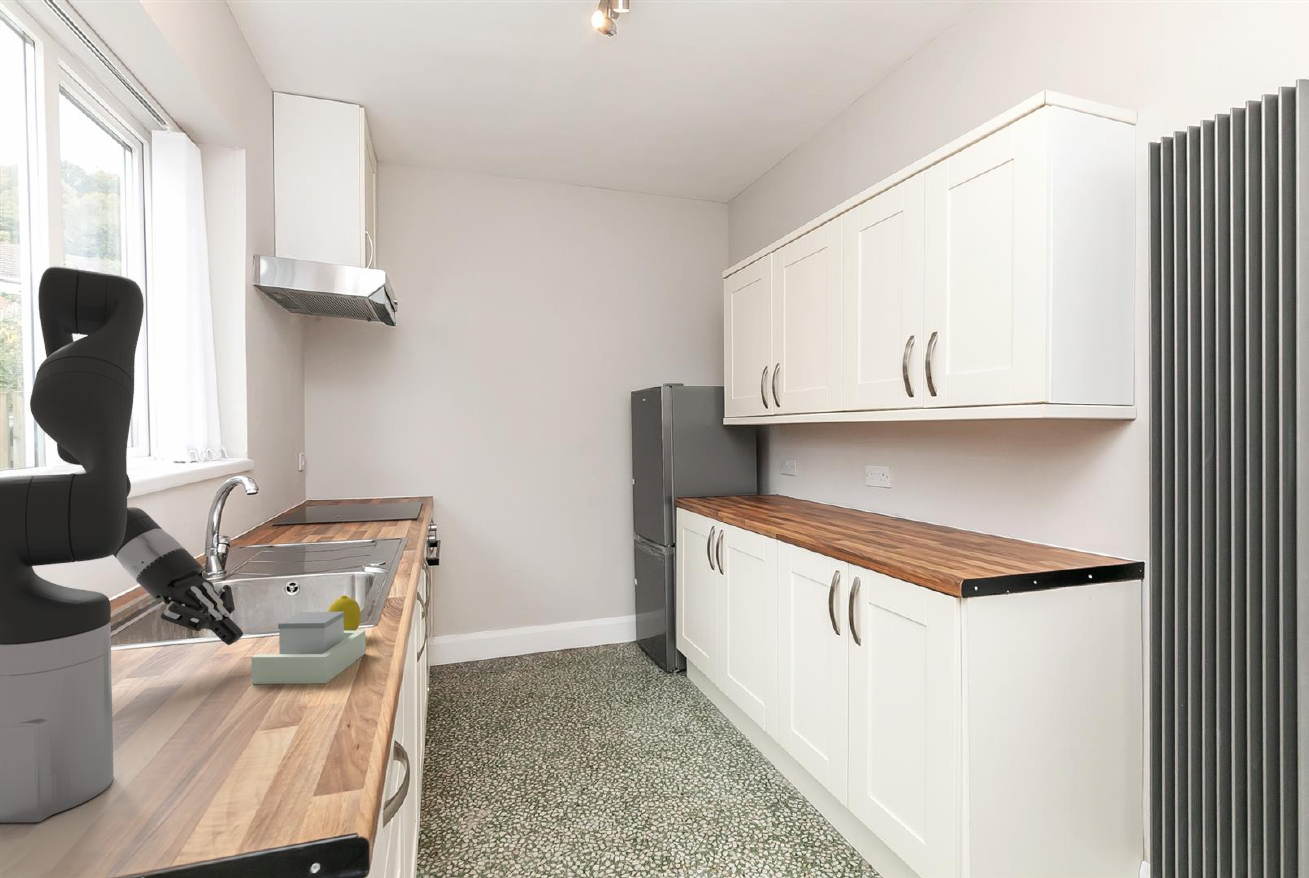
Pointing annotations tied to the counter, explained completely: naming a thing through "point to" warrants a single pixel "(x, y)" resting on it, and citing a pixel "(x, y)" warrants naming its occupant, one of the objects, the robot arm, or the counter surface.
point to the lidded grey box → (311, 632)
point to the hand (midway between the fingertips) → (236, 639)
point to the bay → (308, 663)
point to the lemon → (347, 612)
